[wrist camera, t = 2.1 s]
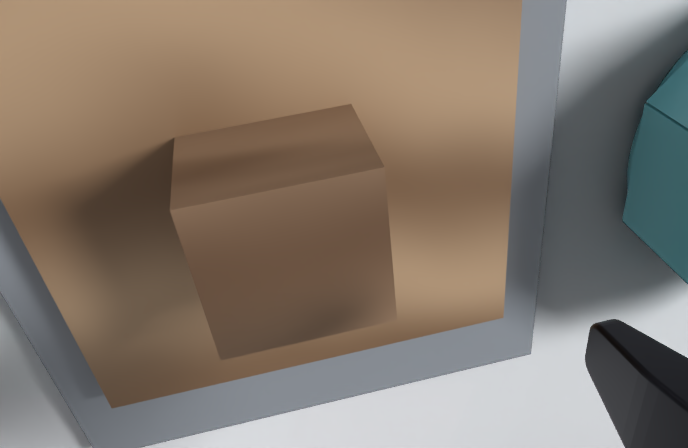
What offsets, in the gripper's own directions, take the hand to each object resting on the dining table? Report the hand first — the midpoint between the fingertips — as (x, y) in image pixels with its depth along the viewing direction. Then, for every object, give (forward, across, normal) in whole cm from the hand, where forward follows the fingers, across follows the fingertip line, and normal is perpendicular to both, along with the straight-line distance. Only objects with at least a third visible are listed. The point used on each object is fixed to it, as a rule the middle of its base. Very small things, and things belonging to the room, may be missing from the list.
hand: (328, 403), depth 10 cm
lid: (+7, 0, 0) cm, 7 cm away
